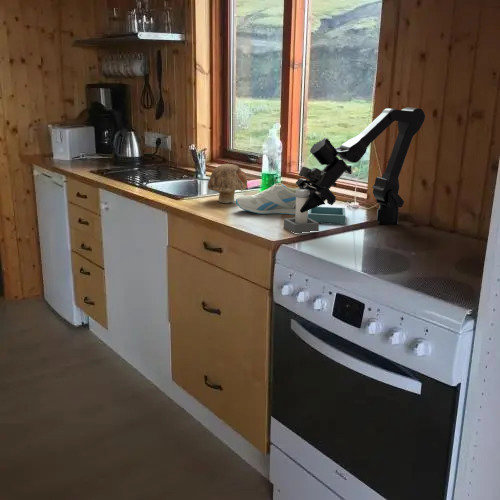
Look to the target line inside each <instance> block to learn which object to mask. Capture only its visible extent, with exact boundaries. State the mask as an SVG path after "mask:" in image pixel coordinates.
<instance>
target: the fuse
mask: <svg viewBox="0 0 500 500" xmlns="http://www.w3.org/2000/svg"><path fill="white" fill-rule="evenodd" d="M308 197H309V190H306V189H298V190H296V210H295V215H294V218H295V223H296V224H302V223H307V220H308V212H309V210H308V211H305V212H303V213H301V212H300V209H301V208H302V206H303V205H304V204H305V202H306V201H307V200H308Z"/></svg>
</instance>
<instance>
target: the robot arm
mask: <svg viewBox="0 0 500 500" xmlns="http://www.w3.org/2000/svg"><path fill="white" fill-rule="evenodd" d="M425 119H426V114H425V112H424V110H423V109H422V108H417V107H407V106H406V107H405V108H402V109H397V108H389V107H387V108H385V109H383V110H382V111H381V113H380V114H379V115H377V117H376V118H374V119H373V121H372V122H371V123H369V125H367V126H366V127H365V129H363V130H362V131H361V132H360V133H359V134H357V136H354V137H352V138H350V139H348V140H346V141H345V142H344V143H341V145H340V146H339V147H337V146H336V147H334V145H333V144H332V143H331V141H330V139H329V138H327V137H323V139H321V140H319V141H317V142H316V143H314V144H313V145H312V146H311V148H310V150H309V153H310V154H311V155H312V156H313V157H314V158H315V159H316V161H317V162H318V163H319V164H320V166H325V167H324V168H323V169H322V170H321V169H319V168H318V167H317V168H316V167H312V168H309V167H306V166H302V167H301V169H300V171H299V173H298V176H300V177H301V178H298V179H297V181H295V184H296V185H297V186H298V188H300V189H306V190H309V197H308V200H307V201H306V202H305V204H304V205H303V206H302V208H301V209H300V212H301V213H303V212H305V211H308V212H309V210H310V209H312V208H315V207H321V206H323V205H326V203H327V204H328V205H330V206H333V205H334V204H335V202H336V200H337V196H336V195H335V194H334V193H333V192H332V190H331V188H332V187H336V186H337V185H338V184H337V183H336V182H337V181H338V180H339V179H340V178H341V176H342V175H343V174H348V175H352V173H353V172H352V165H349V164H347V162H349V163H351V164H352V163H355V164H357V163H358V162H359V161H360V160H361V159H362V158H363V157H364V155H366V152H367V149H368V148H369V146H370V144H371V143H373V142H374V141H375V140H376V139H377V138H378V137H379V136H380V135H381V134H382V133H383V132H385V130H386V129H387V128H389V127H390V126H391V125H392V124H393V123H394V122H397V131H398V133H397V136H396V139H395V142H394V145H393V148H392V150H391V153H390V157H389V159H388V161H387V165H386V168H385V171H384V173H383V174H382V176H380V177H379V176H377V177H376V178H375V181H374V184H373V185H372V187H371V188H372V195H373V197H374V198H375V201H376V203H377V204H379V207H378V208H377V212H376V221H377V223H378V224H379V225H391V226H399V221H398V220H399V211H400V210H399V209H400V208H402V207H403V205H404V203H405V201H404V200H403V198H402V197H401V195H399V191H400V180H399V179H400V174H401V171H402V170H403V169H402V168H403V166H404V163H405V161H406V157H407V155H408V152H409V149H410V146H411V144H412V141H413V137H414V136H415V135H416V134H417V133H418V132H419V131H420V130H421V128H422V126H423V124H424V123H425V121H426V120H425ZM339 158H340V159H339ZM302 177H303V178H302ZM326 201H327V202H326ZM294 209H295V210H296V204H295V206H294Z"/></svg>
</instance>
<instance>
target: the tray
mask: <svg viewBox="0 0 500 500" xmlns="http://www.w3.org/2000/svg"><path fill="white" fill-rule="evenodd" d="M308 218H310V219H312V220H314V221H316V222H318V223H319V224H329V223H331V225H332V224H335V225H345V224H346V208H345V207H333V206H331V207H329V206H318V207H315V208H312V209H310V210H308Z"/></svg>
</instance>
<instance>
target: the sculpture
mask: <svg viewBox="0 0 500 500" xmlns="http://www.w3.org/2000/svg"><path fill="white" fill-rule="evenodd" d="M247 186H248V179H247V174H246V172H245V171H242V169H241V168H240V166H239V165H237V164H233V163H232V164H231V163H223V164H220V165H218V166H216V167H214V169H213V170H212V172H211V174H210V176H209V181H208V184H207V189H208V190H210V191H215V192H219V193H218V194H219V195H218V202H219V203H222V204H223V203H224V204H229V203H234V202H235V193H236V190H239V191H241V192H242V191H245V190H246V189H247Z"/></svg>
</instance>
